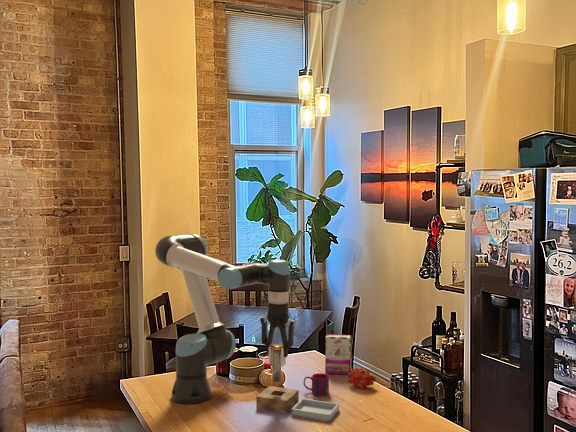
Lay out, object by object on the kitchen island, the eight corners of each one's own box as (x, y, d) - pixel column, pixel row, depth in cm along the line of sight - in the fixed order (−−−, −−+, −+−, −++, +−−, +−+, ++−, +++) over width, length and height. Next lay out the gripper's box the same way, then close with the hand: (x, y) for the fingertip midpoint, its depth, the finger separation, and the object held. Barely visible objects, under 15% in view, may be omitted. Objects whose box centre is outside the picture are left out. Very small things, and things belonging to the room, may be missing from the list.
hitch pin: (268, 381, 213) (269, 347, 213) (273, 377, 217) (274, 343, 217) (279, 383, 212) (280, 348, 211) (284, 379, 216) (285, 345, 215)
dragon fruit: (345, 388, 238) (373, 396, 234) (342, 381, 231) (371, 390, 227) (351, 368, 242) (379, 376, 238) (348, 361, 235) (377, 369, 231)
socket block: (256, 408, 211) (256, 396, 211) (269, 397, 222) (269, 385, 222) (286, 413, 207) (286, 400, 207) (298, 401, 218) (298, 390, 218)
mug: (327, 396, 224) (327, 379, 223) (302, 394, 226) (302, 377, 226) (330, 390, 230) (330, 374, 230) (305, 388, 232) (305, 372, 232)
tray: (291, 415, 204) (291, 409, 204) (302, 404, 215) (302, 398, 215) (329, 422, 199) (329, 414, 199) (338, 410, 210) (338, 403, 210)
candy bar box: (351, 371, 254) (351, 335, 254) (350, 375, 249) (351, 337, 249) (326, 370, 256) (326, 333, 255) (324, 373, 251) (325, 336, 250)
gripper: (252, 301, 212) (251, 364, 214) (296, 306, 206) (295, 370, 207) (260, 298, 219) (259, 358, 221) (303, 302, 213) (302, 364, 214)
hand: (277, 364), depth 214 cm, fingers closed on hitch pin, 4 cm apart
